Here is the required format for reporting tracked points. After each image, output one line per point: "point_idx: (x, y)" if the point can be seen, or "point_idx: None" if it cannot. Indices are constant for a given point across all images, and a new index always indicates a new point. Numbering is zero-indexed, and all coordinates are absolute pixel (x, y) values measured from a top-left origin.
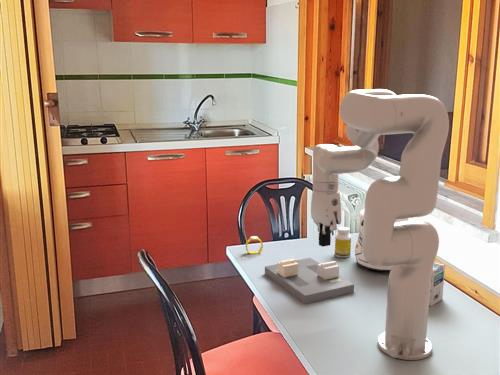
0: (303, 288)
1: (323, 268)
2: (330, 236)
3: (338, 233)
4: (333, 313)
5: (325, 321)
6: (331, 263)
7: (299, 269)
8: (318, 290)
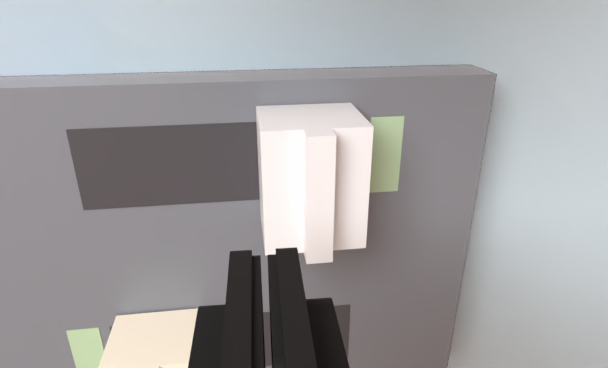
0: (377, 347)
1: (341, 246)
2: (307, 319)
3: None
4: (565, 276)
5: (588, 328)
6: (333, 181)
7: (122, 269)
8: (439, 297)
